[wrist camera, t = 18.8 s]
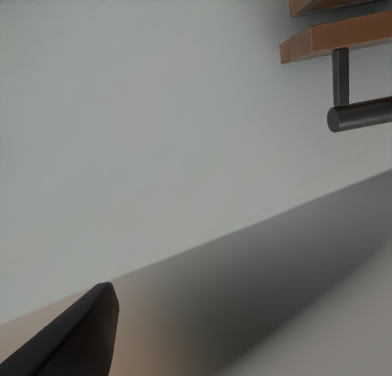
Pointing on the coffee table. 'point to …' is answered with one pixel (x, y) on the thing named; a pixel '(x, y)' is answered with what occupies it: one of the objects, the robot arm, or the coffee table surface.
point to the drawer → (341, 57)
